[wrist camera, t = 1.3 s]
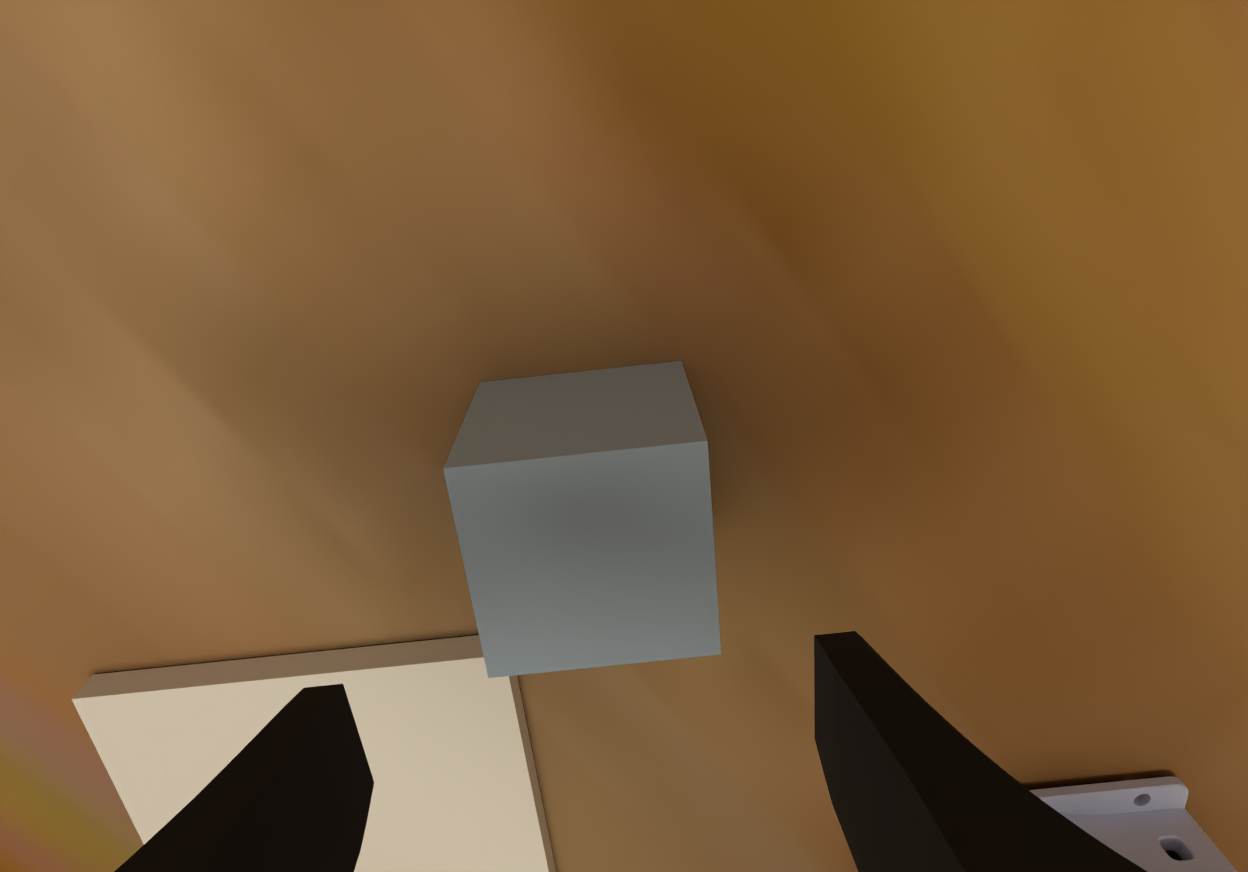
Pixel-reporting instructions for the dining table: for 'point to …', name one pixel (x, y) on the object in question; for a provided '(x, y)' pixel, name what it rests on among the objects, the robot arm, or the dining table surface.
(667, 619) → the grey cube
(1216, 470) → the dining table surface
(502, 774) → the cream tile
